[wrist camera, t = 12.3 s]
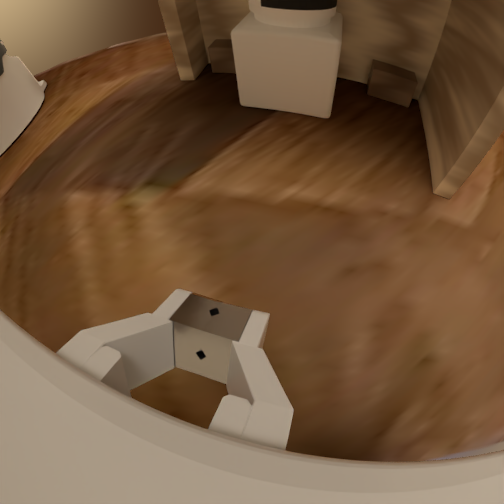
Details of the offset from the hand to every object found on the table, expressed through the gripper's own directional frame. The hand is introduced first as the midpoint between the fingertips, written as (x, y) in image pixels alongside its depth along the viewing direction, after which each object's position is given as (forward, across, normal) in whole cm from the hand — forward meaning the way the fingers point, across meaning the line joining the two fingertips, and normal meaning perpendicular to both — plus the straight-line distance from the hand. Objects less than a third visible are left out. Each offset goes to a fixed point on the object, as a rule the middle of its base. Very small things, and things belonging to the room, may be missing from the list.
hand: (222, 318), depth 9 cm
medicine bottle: (+18, +2, -10) cm, 21 cm away
